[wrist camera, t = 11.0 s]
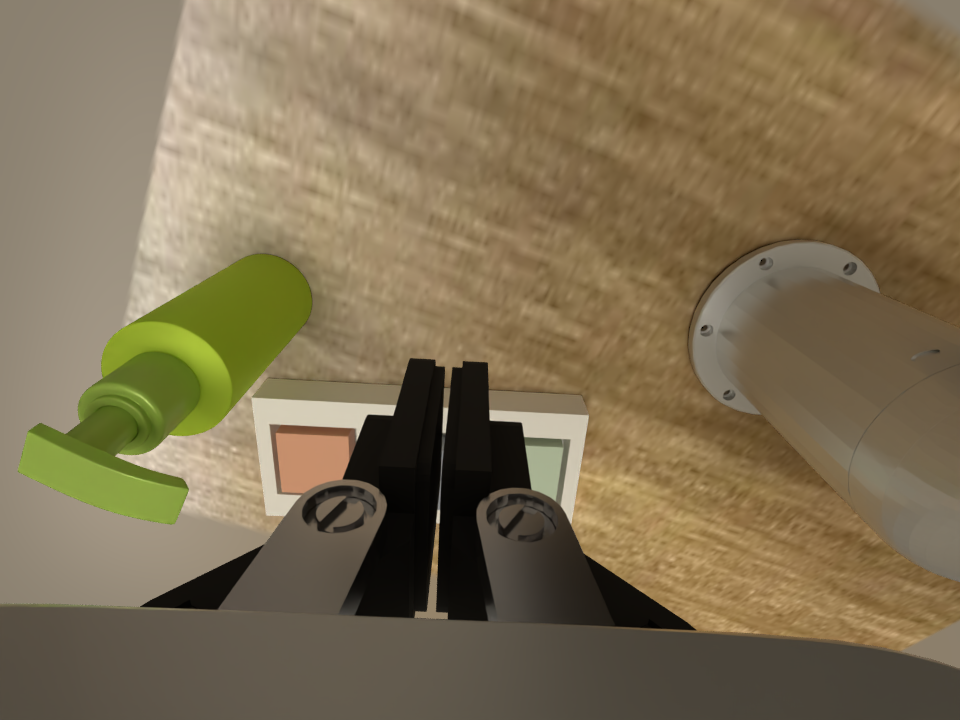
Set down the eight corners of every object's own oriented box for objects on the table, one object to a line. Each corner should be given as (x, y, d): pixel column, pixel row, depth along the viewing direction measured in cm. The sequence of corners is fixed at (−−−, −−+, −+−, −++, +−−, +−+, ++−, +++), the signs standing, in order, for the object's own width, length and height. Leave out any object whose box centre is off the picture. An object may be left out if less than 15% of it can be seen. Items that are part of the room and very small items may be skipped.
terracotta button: (354, 422, 39) (348, 436, 37) (356, 478, 41) (350, 495, 39) (285, 418, 39) (275, 433, 37) (290, 475, 41) (281, 492, 39)
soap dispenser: (307, 357, 38) (151, 571, 20) (213, 312, 37) (-45, 498, 19) (339, 287, 36) (199, 455, 18) (241, 237, 35) (-18, 364, 17)
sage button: (559, 432, 40) (563, 447, 38) (551, 488, 42) (555, 504, 40) (491, 429, 39) (492, 444, 38) (487, 484, 41) (487, 501, 40)
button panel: (581, 395, 40) (588, 415, 37) (564, 503, 44) (570, 529, 41) (267, 378, 39) (251, 397, 36) (279, 490, 43) (266, 515, 40)
